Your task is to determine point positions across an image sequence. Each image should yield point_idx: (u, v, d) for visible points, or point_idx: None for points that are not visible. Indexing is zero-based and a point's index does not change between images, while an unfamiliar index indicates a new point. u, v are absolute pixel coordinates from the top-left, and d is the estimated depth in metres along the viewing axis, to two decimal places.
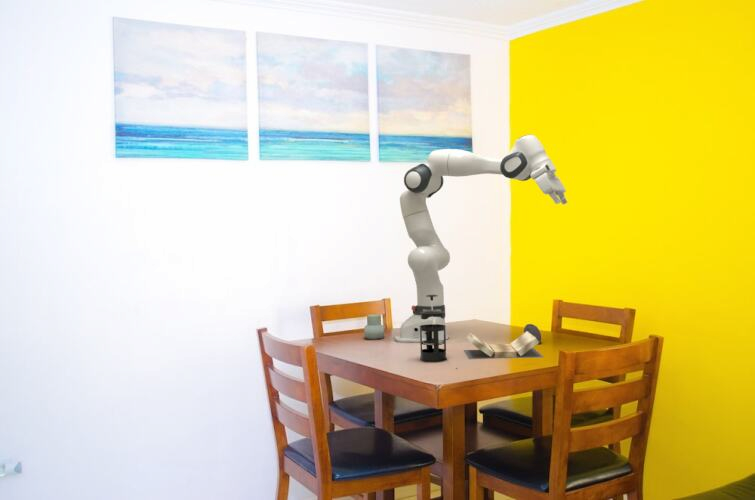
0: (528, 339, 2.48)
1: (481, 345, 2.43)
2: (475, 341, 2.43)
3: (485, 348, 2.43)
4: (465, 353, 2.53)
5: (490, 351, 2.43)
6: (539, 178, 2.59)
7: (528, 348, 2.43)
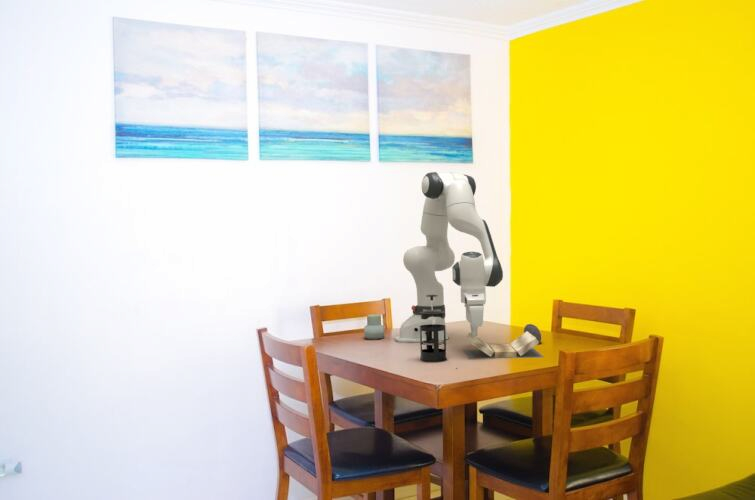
0: (528, 339, 2.48)
1: (481, 345, 2.43)
2: (475, 341, 2.43)
3: (485, 348, 2.43)
4: (465, 353, 2.53)
5: (490, 351, 2.43)
6: (475, 309, 2.42)
7: (528, 348, 2.43)
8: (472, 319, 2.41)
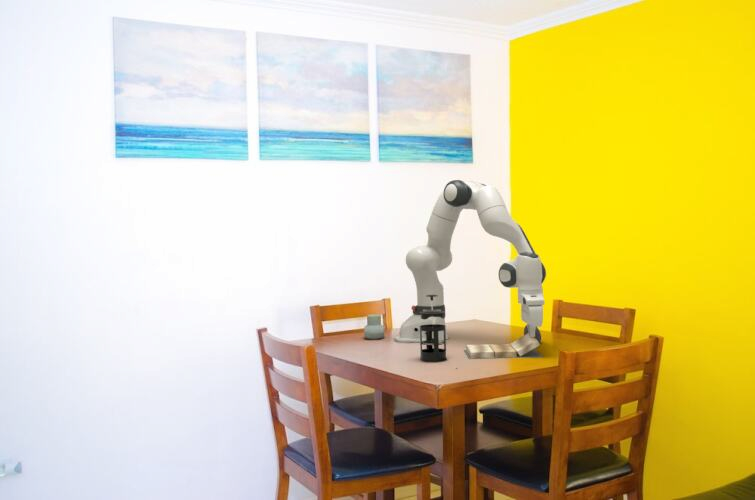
0: (529, 341, 2.48)
1: (479, 353, 2.44)
2: (472, 353, 2.44)
3: (484, 354, 2.44)
4: (465, 353, 2.53)
5: (490, 353, 2.44)
6: (534, 309, 2.41)
7: (528, 349, 2.43)
8: (532, 320, 2.41)
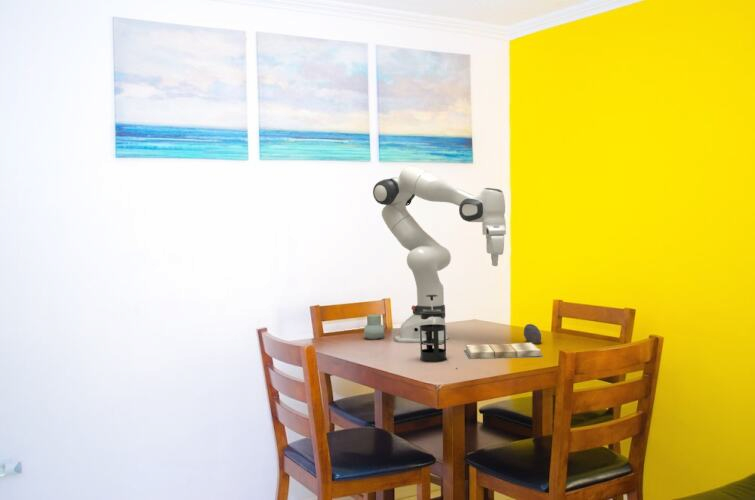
0: (531, 348, 2.48)
1: (479, 353, 2.44)
2: (472, 353, 2.44)
3: (484, 354, 2.44)
4: (465, 353, 2.53)
5: (490, 353, 2.44)
6: (496, 238, 2.61)
7: (528, 355, 2.43)
8: (494, 248, 2.60)
